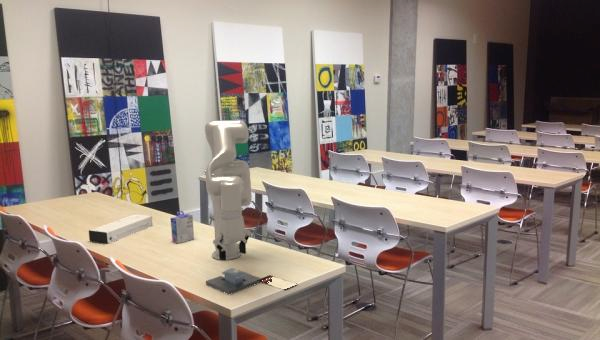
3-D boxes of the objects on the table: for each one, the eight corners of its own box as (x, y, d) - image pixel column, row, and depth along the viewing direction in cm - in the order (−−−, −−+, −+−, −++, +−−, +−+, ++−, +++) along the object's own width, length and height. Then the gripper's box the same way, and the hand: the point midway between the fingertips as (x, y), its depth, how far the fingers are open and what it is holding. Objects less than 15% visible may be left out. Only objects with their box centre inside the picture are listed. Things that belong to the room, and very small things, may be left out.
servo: (230, 279, 203) (230, 265, 202) (245, 285, 197) (245, 271, 196) (222, 282, 200) (222, 268, 199) (237, 288, 194) (236, 274, 193)
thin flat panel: (269, 275, 206) (298, 284, 197) (269, 276, 206) (298, 285, 197) (256, 280, 201) (285, 290, 191) (256, 282, 201) (285, 291, 191)
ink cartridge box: (188, 237, 260) (186, 209, 257) (194, 239, 256) (193, 210, 253) (171, 241, 252) (169, 212, 250) (177, 243, 249) (176, 214, 246)
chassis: (238, 273, 209) (238, 269, 209) (261, 282, 200) (261, 278, 199) (205, 284, 198) (205, 281, 197) (229, 294, 188) (228, 290, 188)
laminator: (135, 224, 285) (135, 213, 284) (154, 227, 280) (153, 215, 279) (89, 242, 254) (88, 230, 253) (109, 245, 249) (108, 232, 248)
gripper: (242, 206, 203) (243, 248, 206) (206, 216, 191) (208, 260, 194) (255, 210, 198) (256, 252, 201) (219, 220, 186) (220, 265, 189)
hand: (232, 256), depth 198 cm, fingers open, 9 cm apart
